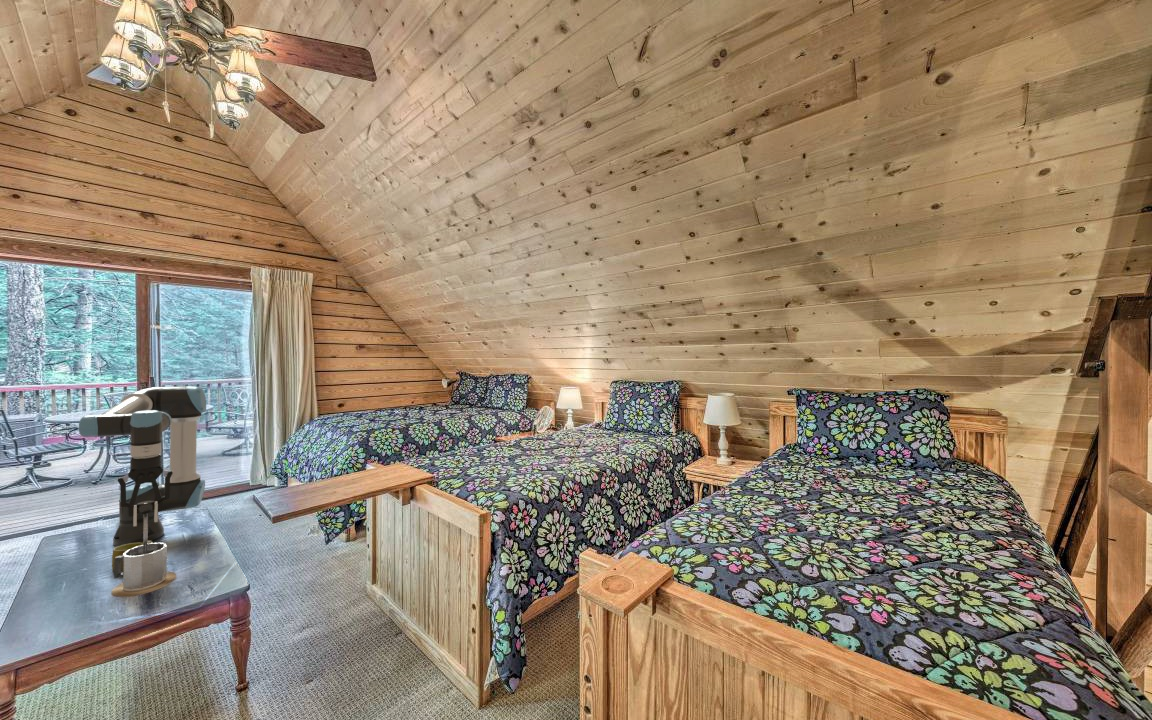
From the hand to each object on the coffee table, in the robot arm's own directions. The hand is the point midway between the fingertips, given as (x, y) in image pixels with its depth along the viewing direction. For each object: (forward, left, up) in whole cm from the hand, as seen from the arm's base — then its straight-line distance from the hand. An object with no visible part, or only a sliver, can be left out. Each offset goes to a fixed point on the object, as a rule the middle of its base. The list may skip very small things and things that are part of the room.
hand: (145, 522), depth 147 cm
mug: (-18, -11, -22) cm, 31 cm away
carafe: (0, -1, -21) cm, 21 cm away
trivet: (0, 0, -22) cm, 22 cm away
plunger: (0, 0, -13) cm, 13 cm away
